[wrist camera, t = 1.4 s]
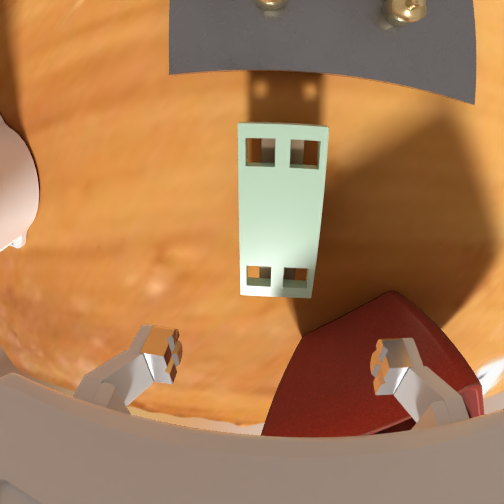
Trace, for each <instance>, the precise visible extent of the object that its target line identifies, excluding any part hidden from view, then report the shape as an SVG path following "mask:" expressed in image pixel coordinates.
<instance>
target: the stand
mask: <svg viewBox="0 0 504 504" xmlns="http://www.w3.org/2000/svg"><path fill="white" fill-rule="evenodd" d="M275 141H276V139H272V138H262V143H261V163H275ZM303 158H304V140H295V139H291V145H290V164H303ZM259 278H268V279H271V267H267V266H260V277H259ZM294 278H295V268H287V267H284V275H283V279H288V280H294Z"/></svg>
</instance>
